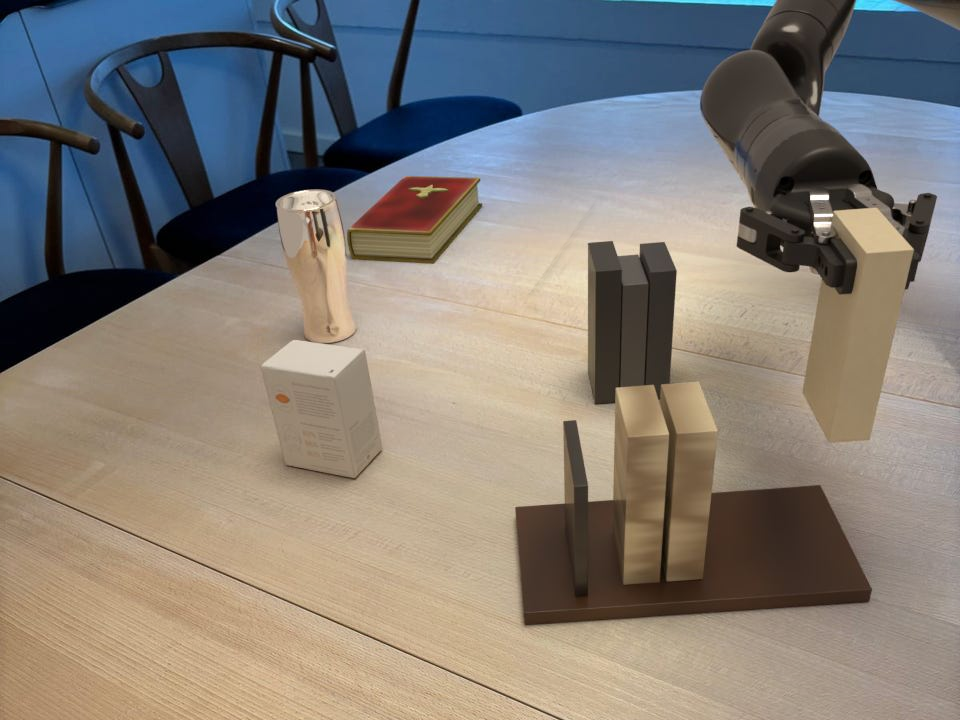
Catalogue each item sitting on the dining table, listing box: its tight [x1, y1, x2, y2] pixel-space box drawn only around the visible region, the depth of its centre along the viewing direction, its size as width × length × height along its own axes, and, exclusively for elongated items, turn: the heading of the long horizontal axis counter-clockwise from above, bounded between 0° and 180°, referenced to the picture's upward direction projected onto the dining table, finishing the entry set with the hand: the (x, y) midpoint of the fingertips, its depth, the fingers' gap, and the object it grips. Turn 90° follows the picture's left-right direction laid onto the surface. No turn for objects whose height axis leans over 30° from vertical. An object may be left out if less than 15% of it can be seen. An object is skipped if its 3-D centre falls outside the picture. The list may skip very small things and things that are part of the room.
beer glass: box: [275, 188, 357, 344], centre depth 110 cm, size 7×7×15 cm
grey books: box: [587, 240, 678, 405], centre depth 96 cm, size 7×7×14 cm
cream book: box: [802, 208, 914, 444], centre depth 65 cm, size 3×7×13 cm, turn 1°
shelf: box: [514, 381, 873, 625], centre depth 74 cm, size 26×14×14 cm, turn 91°
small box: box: [260, 339, 383, 479], centre depth 91 cm, size 8×6×10 cm
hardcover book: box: [346, 175, 483, 264], centre depth 135 cm, size 12×21×4 cm, turn 162°
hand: (877, 276), depth 60 cm, fingers closed on cream book, 3 cm apart
